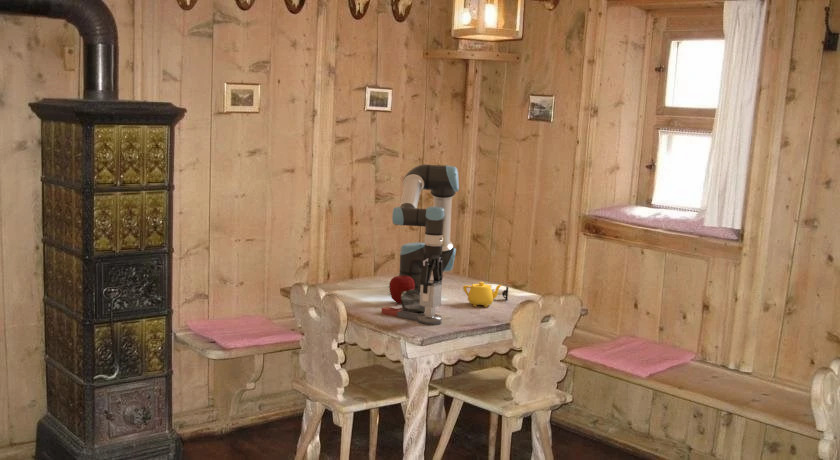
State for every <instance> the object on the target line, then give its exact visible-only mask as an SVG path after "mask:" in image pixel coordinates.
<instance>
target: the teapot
mask: <svg viewBox="0 0 840 460" xmlns="http://www.w3.org/2000/svg"><path fill="white" fill-rule="evenodd" d="M490 285H491V284H488V283H487V284H486V283H485V282H484V281H479V282H478V283H472V285H467V284H465V285H463V286H462V290H463V291H464V293H465V294H466V295H467V300H468V302H469V304H471V305H472V307H474V306H478V305H479V306H483V308H489V306H491V305H492V303H494V300H495V299H496V298H497V296H499V295H498V291H500V288H501V287H502V286H503V284H498V285H497V286H496V287H495V292H494V293H493V292H492V290H493V289H492V285H491V286H490ZM468 288H469V290H468Z"/></svg>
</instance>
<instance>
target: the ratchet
mask: <svg viewBox="0 0 840 460" xmlns="http://www.w3.org/2000/svg"><path fill="white" fill-rule="evenodd" d="M380 313H381V314H380V315H386V316H391V317H396V318H401V319H407V320H412V321H416V323H418V324H419V325H423V326H437V325H438V326H439V325H441V324H442V318H443V316H442V315H440V314H436V307H434V308H431V307H426V306H425V313H424V312H423V313H418V312H408V311H403V309H400V308H396V307H391V306H385V307H384V306H383V307H382V308H381V312H380Z"/></svg>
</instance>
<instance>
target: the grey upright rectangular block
mask: <svg viewBox="0 0 840 460" xmlns="http://www.w3.org/2000/svg"><path fill="white" fill-rule="evenodd" d="M429 286H430V295H429V302H428V301H423V285H421V288H420V293H419V294H420V305H421V306H426V307H431V308H434V307H435V308H436V307H440V306H442V294H443V292H442V289H443V281H442V282H441V281H435V280H434V279H430V282H429Z"/></svg>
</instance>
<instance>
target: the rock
mask: <svg viewBox="0 0 840 460" xmlns="http://www.w3.org/2000/svg"><path fill="white" fill-rule="evenodd" d="M401 293H402V294H401V302H402V304H401V308H402V310H403V311H408V312H413V313H418V312H419V313H420V312H421V313H423V314H424V313H425V306H421V305H420V293H418V291H415V290H412V289H411V290H408V291H403V292H401Z"/></svg>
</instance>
